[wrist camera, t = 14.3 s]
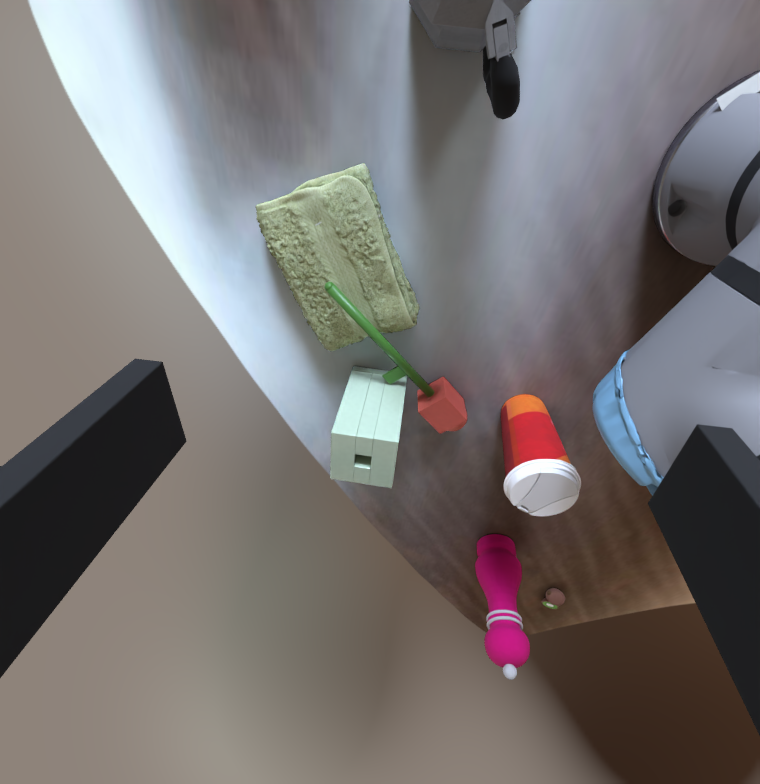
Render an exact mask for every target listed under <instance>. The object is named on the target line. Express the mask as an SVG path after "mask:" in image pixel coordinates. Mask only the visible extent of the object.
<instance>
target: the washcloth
mask: <svg viewBox="0 0 760 784" xmlns="http://www.w3.org/2000/svg"><path fill="white" fill-rule="evenodd" d="M369 173H370V172H369V170H368V168H367V167H366V165H365V164H364V163H362V164H359V165H357V166H354V167H351V168H348V169H346V170H343V171H340V172H338V173H333V174H329V175H325V176H322V177H319V178H316V179H313V180H309V181H307V182H306V183H304V184H302V185H300V186H299V187H297V188H296V189H295V190H294V191H293V192H292V193H290V194H287V195H285V196H283V197H280V198H277V199H275V200H272V201H268V202H265V203H261V204H258V205H256V210H257V212H256V213H257V220H258V222H259V223H260V225H259V227H260V228H261V233H262V234H263V236H264V237H265V240H266V243H268V246H267V247H268V248H269V251H270V252H271V255H272V256H273V257H275V258H276V261H277V264H278V265H279V266H278V268H280V269H281V270H282V272H283V275H284V277H285V278H286V279H285V280H286V282H287V283H288V285H289V286H290V290H292V292H293V296H294V298H295V300H296V301H297V303H298V304H299V306H300V307H301V309H302V311H303V315H304V318H305V319H307V320H308V321H307V323H308V325H310V326H311V328H312V330H313V331H314V332H315V334H316V335H317V336H318V340H319V341H320V342H321V344H322V345H323V346H324V348H325V349H326V350H329V351H334V350H337V349H340V348H343V347H345V346H348V345H349V344H353V343H355V342H361V341H362V340H364V338H365V337H368V336H369V335H368V334H367V333H366V332H365V331H364V330H363V329H362V328H361V327H360V326H359V325H358V324H357V323H356V322H355V321H354V320H353V319H352V318H351V317H350V316H349V314H348V313H347V312H346V311H345V310H344V309H343V308H342V307H341V306H340V305H339V304H338V303H337V302H336V301H335V300H334V299H333V298H332V297H331V296H330V295H329V294H328V293H327V292H326V290H325V288H324V286H325V284H326V283H327V282H333V283H334V284H335V285H336V286H337V287H338V288H339V290H340V291H341V292H342V293H343V294H344V295H345V296H346V297H347V298H348V299H349V300H350V301H351V302H352V303H353V305H354V306H355V307H356V308H357V309H358V310H359V311H360V312H361V313H362V314H363V315H364V316H365V317H366V318H367V319H368V321H369V322H370V323H371V324H372V325H373V326H374V327H375V328H376V329H377V330H378V331H379V332H380V333H381V332H384V333H389V332H390V333H392V332H397V331H404V330H405V329H410V328H412V327H413V326H415V325H416V324H417V315H418V311H419V304H418V303H417V300H416V297H415V293H414V291H413V290H412V288H410V283H409V282H408V280H407V279H406V277H405V274H404V270H403V268H402V264H401V261H400V259H399V256H398V254H397V253H396V251H395V249H394V247H393V245H392V241H391V240H390V237H391V236H390V234H389V232H387V231H388V228H387V227H386V224H385V223H384V218H383V215H382V214H381V211H380V204H379V202H378V201H377V195H376V193H375V192H374V190H373V182H372V180H371V177H370V175H369Z"/></svg>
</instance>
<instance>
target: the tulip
mask: <svg viewBox="0 0 760 784" xmlns="http://www.w3.org/2000/svg"><path fill="white" fill-rule="evenodd" d="M324 288H325V290H326V292H327V293H328V294H329V295H330V296H331V297H332V298H333V299H334V300H335V301H336V302H337V303H338V304H339V305H340V306H341V307H342V308H343V309H344V310H345V311H346V312H347V313H348V314H349V316H350V317H351V318H352V319H353V320H354V321H355V322H356V323H357V324H358V325H359V326H360V327H361V328H362V329H363V330H364V331H365V332H366V333H367V334H368V335H369V336H370V337H371V338H372V339H373V341H374V342H375V343H376V344H377V345H378V346H379V347H380V348H381V349H382V350H383V351H384V352H385V353H386V354H387V355H388V356H389V357H390V358H391V359H392V360H393V361H394V362H395V363H396V365H397V367H395V368H393V369H392V370H390V371H388V372H387V373H385V374H383V375H382V377H383V378H384V379H385V380H386V381H387V382H388V383H389V384H392V383H394V382H396V381H397V380H399V379H401V378H402V377H404V376H406V375H407V376H408V377H409V378H410V379H411V380H412V381H413V382H414V383H415V384H416V385H417V386H418V387H419V389H420V390H418V391H417V393H418V412H419V413H420V414H421V415H422V416H423V417H424V418H425V419H426V420H427V421H428V422H429V423H430V424H431V425H432V426H433V427H434V428H435V429H436V430H437V431H438V432H439V433H440V434H441V433H443V432H445V431H447V430H448V431H457V430H460V429H461V428H462V427H463V426H464V425H465V424H466V421H467V412H466V409H465V403H464V399H463V398H462V396H461V395H460V394H459V393H458V392H457V391H456V390H455V389H454V387H453V386H452V385H451V384H450V383H449V382H448V381H447V380H446V379H445V377H444V376H443V377H441V378H439V379H438V380H436V381H434V382H432V383H430V384H429V385H428V384H427V383H426V382H425V380H424V379H423V378H422V377H421V376H420V375H419V374H418V373H417V372H416V371H415V370H414V369H413V368H412V367H411V365H410V364H409V363H408V362H407V361H406V360H405V359H404V358H403V357H402V356H401V355H400V354H399V353H398V352H397V350H396V349H395V348H394V347H393V346H392V345H391V344H390V343H389V342H388V341H387V340H386V339H385V338H384V337H383V336H382V334H381V333H380V332H379V331H378V330H377V329H376V328H375V327H374V326H373V325H372V324H371V323H370V322H369V321H368V319H367V318H366V317H365V316H364V315H363V314H362V313H361V312H360V311H359V310H358V309H357V308H356V307H355V306H354V305H353V303H352V302H351V301H350V300H349V299H348V298H347V297H346V296H345V295H344V294H343V293H342V292H341V291H340V290H339V288H338V287H337V286H336V285H335V284H334V283H333V282H327V283H326V284H325V286H324Z"/></svg>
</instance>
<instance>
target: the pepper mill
mask: <svg viewBox="0 0 760 784" xmlns="http://www.w3.org/2000/svg"><path fill="white" fill-rule="evenodd" d="M477 555H478V557H479V558H478V559H477V561H476V563H475V570H476V575H477V578H478V581H479V583H480V585H481V587H482V589H483V591H484V593H485V595H486V598H487V601H488V607H489V614H488V615H487V617H486V620H487V628H488V629H489V630H488V632H487V633H486V635H485V648H486V652H487V654H488V656H489V658H490V659H491V660H492V661H493V662H494V663H495V664H496V665H498V666H500V667H503V673H504V675H505V677H506V678H507V679H510V680H511V679H514V678H515V677H516V675H517V670H516V668H518V667H520V666H522V665H523V664H524V663H525V662H526V661H527V659H528V657H529V654H530V644H529V640H528V638H527V636H526V634H525V633H524V632H523V631H522V629H523V624H522V618H521V616H520V615H519V614H518V611H517V603H516V599H517V592H518V589H519V586H520V583H521V578H522V567H521V563H520V561H519V560H518V559H517V558H516V549H515V544H514V542H513V541H512V539H510V538H509V537H507V536H504V535H500V534H490V535H486V536H484V537H482V538H481V539H480V540H479V541H478V542H477Z"/></svg>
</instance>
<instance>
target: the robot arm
mask: <svg viewBox="0 0 760 784" xmlns="http://www.w3.org/2000/svg"><path fill="white" fill-rule="evenodd" d="M652 207H653V215H654V220H655V223H656V226H657V229H658V230H659V232H660V234H661V236H662V237H663V239H664V240H665V241H666V242H667V243H668V244H669V245H670V246H671V247H672V248H673V249H675V250H676V251H678V252H679V253H681V254H682V255H684V256H685V257H687V258H689V259H691V260H694V261H696V262H700V263H703V264H708V265H713V266H716V267H715V268H714V269H713V270H712V271H711V273H709V274H708V275H707V276H705V277H704V278H703V279H702V280H701V281H700V282H699V283H698V284H697V285H696V286H695V287H694V288H693V289H692V290H691V291H690V292H689V293H688V294H687V295H686V296H685V297H684V298H683V299H682V300H681V301H680V302H679V303H678V304H677V305H676V306H675V307H674V308H672V309H671V310H670V311H669V312H668V313H667V314H666V315H665V316H664V317H663V318H662V319H661V320H660V321H659V322H658V323H657V324H656V325H655V326H654V327H653V328H652V329H651V330H650V331H649V332H648V333H646V334H645V335H644V336H643V337H642V338H641V339H640V340H639V341H638V342H637V343H636V344H635V345H634V346H633V347H632V348H631V349H629V350H626V351H625V352H624V353H623V354H622V355H621V356H620V358H619V360H618V362H617V364H616V365H615V366H614V367H613V368H612V370H611V371H610V372H609V373H608V374H607V375H606V376H605V377H604V378H603V379H602V380H601V381H600V383H599V384H598V385H597V387H596V389H595V391H594V394H593V414H594V419H595V422H596V424H597V427H598V429H599V432H600V434H601V436H602V438H603V439H604V441H605V443H606V445H607V446H608V448H609V449H610V451H611V452H612V454H613V455H614V457H615V458H616V459H617V461H618V462H619V463H620V465H621V466H622V467H623V468H624V469H625V470H626V472H627V473H628V474H629V475H630V476H631V477H632V478H633V479H634V480H635V481H636V482H637V483H638V484H639V485H641V486H646V487H647V488H648V490H649V491H650V493H651V495H652V498H651V499H650V501H649V502H648V505H649V507H650V509H651V511H652V513H653V515H654V517H655V519H656V521H657V523H658V525H659V527H660V529H661V532H662V534H663V536H664V538H665V540H666V542H667V544H668V546H669V548H670V550H671V552H672V554H673V556H674V559H675V561H676V563H677V565H678V567H679V569H680V571H681V573H682V575H683V577H684V579H685V581H686V583H687V586H688V588H689V590H690V592H691V594H692V596H693V598H694V600H695V602H696V604H697V606H698V608H699V610H700V613H701V615H702V617H703V619H704V621H705V623H706V625H707V627H708V629H709V631H710V633H711V635H712V637H713V639H714V642H715V644H716V646H717V648H718V650H719V652H720V654H721V656H722V658H723V660H724V662H725V664H726V666H727V669H728V671H729V673H730V675H731V677H732V679H733V681H734V683H735V685H736V687H737V689H738V691H739V693H740V696H741V697H742V700H743V702H744V704H745V706H746V708H747V710H748V712H749V714H750V716H751V718H752V720H753V723H754V725H755V727H756V729H757V731H758V733H759V735H760V70H759V71H757V72H754V73H752V74H750V75H748V76H746V77H744V78H742V79H740V80H738V81H736V82H735V83H733V84H731V85H730V86H728V87H727V88H725V89H724V90H722V91H721V92H720V93H718V94H717V95H715V96H714V97H713V98H712V99H711V100H709V101H708V102H707V103H706V104H705V105H703V106H702V107H701V108H700V109H699V110H698V111H697V112H696V113H695V114H694V115H693V116H692V118H691V119H690V120H689V121H688V122H687V123H686V124H685V126H684V127H683V128H682V129H681V131H680V132H679V133H678V135H677V136H676V138H675V139H674V141H673V142H672V144H671V145H670V147H669V149H668V151H667V152H666V154H665V156H664V158H663V160H662V163H661V165H660V168H659V170H658V173H657V177H656V180H655V185H654V189H653V200H652ZM185 442H186V438H185V435H184V431H183V428H182V425H181V421H180V418H179V415H178V412H177V408H176V405H175V402H174V398H173V395H172V392H171V388H170V385H169V382H168V379H167V375H166V372H165V369H164V366H163V362H159V361H150V360H142V359H134V360H133V361H132V362H130V363H129V364H128V365H127V366H125V367H124V368H123V369H122V370H121V371H119V372H118V373H117V374H116V375H114V376H113V377H112V378H111V379H109V380H108V381H107V382H106V383H105V384H103V385H102V386H101V387H100V388H98V389H97V390H96V391H95V392H94V393H92V394H91V395H90V396H88V397H87V398H86V399H85V400H83V401H82V402H81V403H80V404H79V405H77V406H76V407H75V408H74V409H72V410H71V411H70V412H69V413H68V414H66V415H65V416H64V417H63V418H61V419H60V420H59V421H57V422H56V423H55V424H54V425H53V426H51V427H50V428H49V429H48V430H46V431H45V432H44V433H43V434H41V435H40V436H39V437H38V438H36V439H35V440H34V441H33V442H32V443H30V444H29V445H28V446H27V447H25V448H24V449H23V450H22V451H20V452H19V453H18V454H17V455H15V456H14V457H13V458H12V459H10V460H9V461H8V462H7V463H6V464H4V465H3V466H0V678H1V676H2V675H3V674H4V673H5V671H6V670H7V669H8V667H9V666H10V665H11V664H12V662H13V661H14V660H15V659H16V657H17V656H18V655H19V654H20V652H21V651H22V650H23V649H24V647H25V646H26V644H27V643H28V642H29V641H30V639H31V638H32V637H33V636H34V635H35V633H36V632H37V631H38V629H39V628H40V627H41V626H42V624H43V623H44V622H45V620H46V619H47V618H48V617H49V615H50V614H51V613H52V612H53V610H54V609H55V608H56V606H57V605H58V604H59V603H60V601H61V600H62V599H63V597H64V596H65V595H66V594H67V593H68V591H69V590H70V589H71V587H72V586H73V585H74V584H75V582H76V581H77V580H78V579H79V577H80V576H81V575H82V573H83V572H84V571H85V569H86V568H87V567H88V566H89V565H90V563H91V562H92V561H93V559H94V558H95V557H96V556H97V554H98V553H99V552H100V551H101V549H102V548H103V547H104V545H105V544H106V543H107V542H108V540H109V539H110V538H111V537H112V535H113V534H114V532H115V531H116V530H117V529H118V528H119V526H120V525H121V524H122V523H123V521H124V520H125V519H126V517H127V516H128V515H129V514H130V512H131V511H132V510H133V509H134V507H135V506H136V505H137V503H138V502H139V501H140V499H141V498H142V497H143V496H144V495H145V493H146V492H147V490H148V489H149V488H150V487H151V486H152V484H153V483H154V482H155V481H156V479H157V478H158V477H159V475H160V474H161V473H162V472H163V470H164V469H165V468H166V467H167V465H168V464H169V463H170V461H171V460H172V459H173V458H174V456H175V455H176V453H178V451H179V450H180V449H181V447H182V446H183V445H184V444H185Z"/></svg>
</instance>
